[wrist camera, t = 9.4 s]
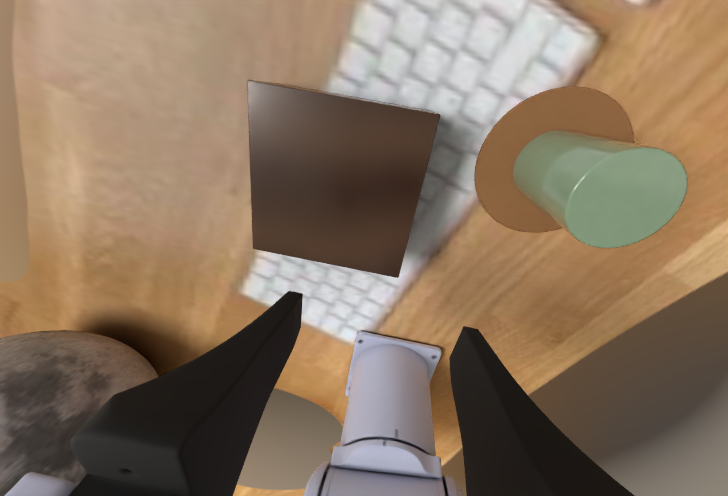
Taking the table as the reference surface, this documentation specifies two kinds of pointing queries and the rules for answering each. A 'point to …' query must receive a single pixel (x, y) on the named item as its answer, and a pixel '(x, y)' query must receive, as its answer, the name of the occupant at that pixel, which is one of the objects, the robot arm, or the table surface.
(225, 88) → the table surface
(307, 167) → the stand
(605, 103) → the coaster
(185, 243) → the table surface
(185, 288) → the table surface
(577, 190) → the sage green cylinder
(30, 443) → the moon model
